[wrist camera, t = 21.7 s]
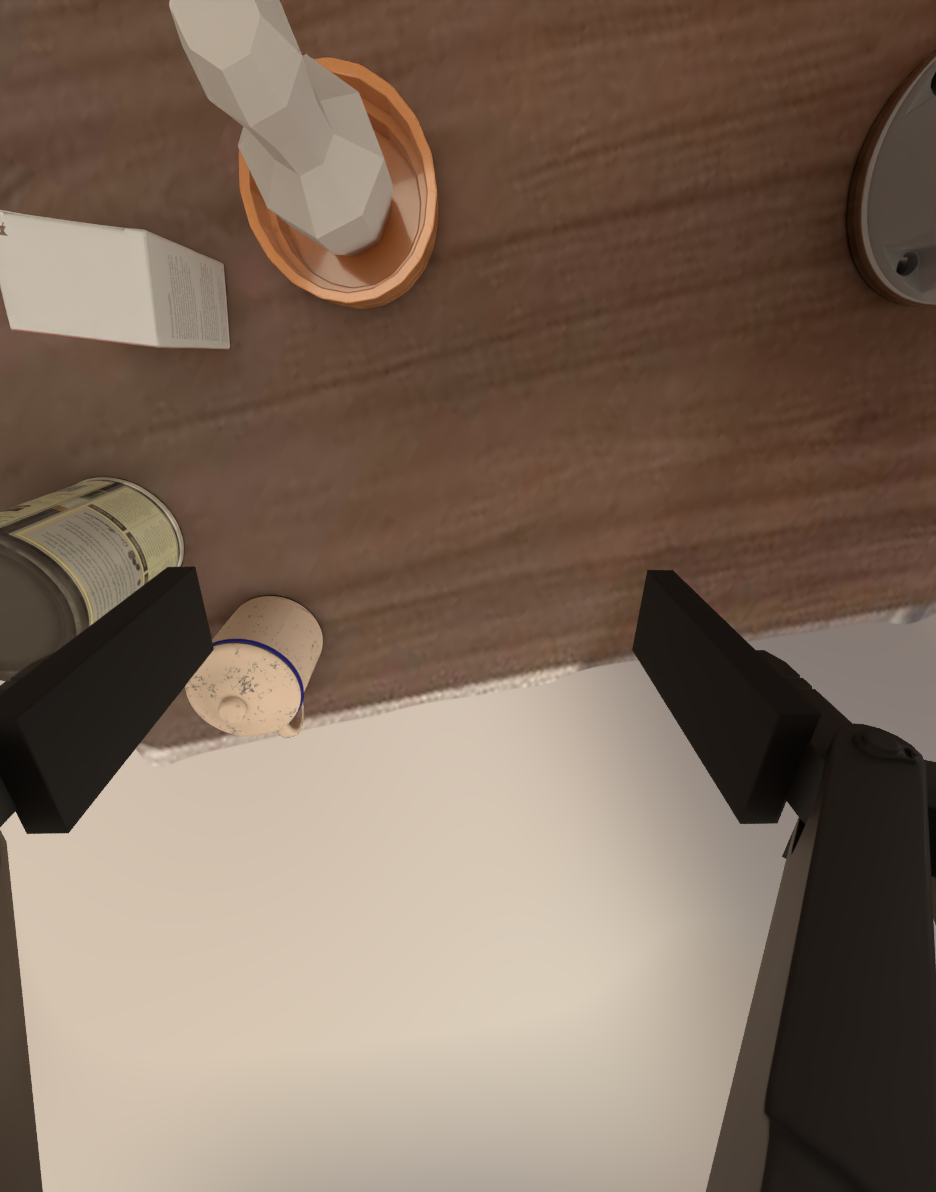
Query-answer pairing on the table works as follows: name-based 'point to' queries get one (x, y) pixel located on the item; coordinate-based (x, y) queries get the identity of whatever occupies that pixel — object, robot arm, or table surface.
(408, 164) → the bowl
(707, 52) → the table surface
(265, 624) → the teacup with lid
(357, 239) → the low poly bottle
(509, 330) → the table surface
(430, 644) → the table surface
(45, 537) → the coffee can
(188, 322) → the small box
